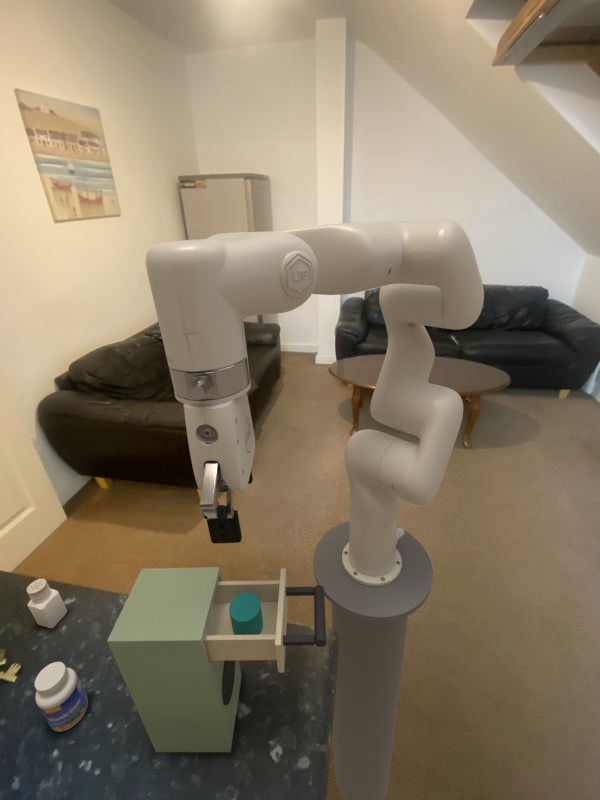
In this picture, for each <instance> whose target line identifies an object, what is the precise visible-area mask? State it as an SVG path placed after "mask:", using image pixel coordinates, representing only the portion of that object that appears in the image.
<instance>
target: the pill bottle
mask: <svg viewBox="0 0 600 800" xmlns="http://www.w3.org/2000/svg"><path fill="white" fill-rule="evenodd" d="M34 688H35V690H36V692H35V695H34V697H35V699H34V700H35V703H36V705H37V707H38V708H39V711H40V712H41V713H42V715H43V717H44V718H45V720H46V722H47V723H48V725H49V727H50V728H51V729H52V730H53V731H54V732H65V731H68V730H70V729H72V728H73V727H74V726H76V725H77V724H78V723H79V722H81V720H82V718H83V717H84V715H85V714H86V711H87V709H88V705H89V698H88V695H87V692H86V690H85V688H84V686H83V683H81V680H80V679H79V676H78V674H77V673H76V671H75V670H74V669H73V668H72V667H67V666H66V664H65V663H64V662H62V661H54V662H51V663H49V664H47V665H45V667H43V668H42V669H41V670H40V672H39V673H38V674H37V676H36V677H35V680H34Z"/></svg>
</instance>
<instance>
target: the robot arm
mask: <svg viewBox="0 0 600 800" xmlns="http://www.w3.org/2000/svg"><path fill="white" fill-rule="evenodd" d="M145 267H146V273H147V278H148V282H149V287H150V291H151V296H152V299H153V300H152V301H153V304H154V308H155V309H154V310H155V312H156V316H157V322H158V325H159V330H160V331H159V332H160V334H161V339H162V343H163V347H164V353H165V357H166V361H167V366H168V372H169V376H170V379H171V384H172V389H173V392H174V398H175V399H176V400H177V401H178V402H180V403H181V404H183V413H184V422H185V429H186V436H187V444H188V450H189V455H190V461H191V466H192V471H193V475H194V479H195V483H196V486H197V488H198V490H199V491H200V500H199V510H200V511H201V513H202V516H203V518H204V520H206V523H207V528H208V534H209V538H210V542H211V543H212V544H213V545H214V544H215V545H216V544H217V545H218V544H238V543H241V542H242V538H243V536H242V535H243V534H242V528H241V522H240V517H239V512H238V509H237V510H236V509H235V493H236V492H239V493H242V492H243V491H245V489H246V488H247V487H248V485H250V484H252V483H253V480H254V478H253V477H254V476H253V470H252V468H253V462H254V457H255V452H256V435H255V431H254V425H253V419H252V413H251V407H250V403H249V397H248V392H249V391H250V390H251V387H252V381H251V374H250V365H249V358H248V349H247V340H246V333H245V324H244V319H245V318H246V317H247V318H248V317H252V316H253V317H254V316H261V315H278V314H285V313H288V312H291V311H294V310H296V309H297V308H299V307H301V306H303V305H304V304H305V303H306V302H307V301H308V300H309V299H310V298H311V296H312V295H320V296H321V295H322V296H342V295H343V296H344V295H353V294H356V293H360V292H364V291H368V290H373V289H376V288H379V295H378V302H379V307H380V310H381V314H382V317H383V320H384V323H385V328H386V333H387V348H386V353H385V356H384V360H383V363H382V366H381V369H380V372H379V375H378V377H377V381H376V383H375V387H374V390H373V393H372V396H371V400H370V404H369V413H370V415H371V417H372V418H373V419H374V420H375V421H376V422H378V423H380V424H382V425H384V426H387V427H389V428H392V429H395V430H397V431H400V432H404V433H406V434H409V435H412V436H415V437H417V438H418V439H419V443H418V444H415V443H413V442H411V441H407V440H404V439H402V438H400V437H397V436H394V435H392V434H388V433H386V432H383V431H380V430H375V429H369V428H367V429H360V430H357V431H356V432H354V433H353V434H352V435H351V436H350V438H349V439H348V441H347V442H346V445H345V450H344V465H345V470H346V474H347V478H348V485H349V486H348V487H349V521H350V524H349V542H348V544H347V545H346V546H345V548H344V549H343V553H342V564H343V567H344V569H345V571H346V572H347V574H348V575H349V576H350V577H351V578H352V579H354V580H355V581H357V582H359V583H361V584H363V585H367V586H374V587H378V586H384V585H387V584H390V583H391V582H393V581H394V580H395V579H397V577H398V576H399V574H400V572H401V567H402V559H401V556H400V553H399V551H398V550H397V549H396V544H397V543H398V540H399V539H400V538H401V537H402V536H403V535H404V534H405V532H404V530H405V529H404V528H402V527H400V526H398V524H399V523H398V522H399V512H400V511H399V510H400V499H402V500H404V501H407V502H409V503H412V504H415V505H418V506H419V505H420V506H423V505H427V504H429V503H430V502H431V501H432V500H434V498H435V497H436V495H437V493H438V492H439V489H440V487H441V484H442V481H443V479H444V476H445V473H446V470H447V467H448V464H449V462H450V459H451V456H452V453H453V449H454V447H455V444H456V441H457V439H458V434H459V432H460V429H461V425H462V422H463V418H464V401H463V398H462V397H461V395H460V394H459V393H458V392H457V391H455V390H454V389H452V388H450V387H446V386H444V385H440V384H435V383H432V382H429V378H430V375H431V372H432V368H433V365H434V363H435V360H436V351H435V347H434V344H433V342H432V341H433V340H432V339H431V337H430V334H429V332H428V331H427V329H426V327H433V328H441V329H446V330H457V331H458V330H464V329H468V328H469V327H472V325H474V323H476V321H477V320H478V319H479V317H480V315H481V314H482V310H483V308H484V303H485V290H484V283H483V281H482V276H481V273H480V269H479V265H478V261H477V259H476V255H475V252H474V249H473V246H472V242H471V241H470V238H469V236H468V234H467V233H466V231H465V230H464V228H463V227H462V226H461V225H460V224H459V223H458V222H456V221H455V220H452V219H448V218H443V219H442V218H441V219H439V218H438V219H420V220H419V219H418V220H417V219H416V220H395V221H394V220H393V221H370V222H369V221H368V222H367V221H365V222H341V223H340V222H339V223H329V224H322V225H314V226H309V227H304V228H303V227H302V228H294V229H284V230H271V231H270V230H269V231H240V232H239V231H238V232H237V231H236V232H235V231H234V232H224V233H223V232H221V233H216V234H213V235H211V236H208V237H207V238H203V239H182V240H173V241H172V240H171V241H164V242H160V243H156V244H153V245H152V246H151V247H150V248H149V249H148V250H147V252H146V255H145ZM220 480H223V481H224V483H225V484H226V485H220ZM219 493H226V505H224V504H220V502H219V497H218V495H219ZM397 526H398V527H399V528H397ZM403 529H404V530H403Z"/></svg>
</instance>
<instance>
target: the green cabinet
mask: <svg viewBox="0 0 600 800" xmlns="http://www.w3.org/2000/svg"><path fill="white" fill-rule="evenodd" d="M221 571H222V570H221V568H220V566H202V567H199V566H198V567H151V568H150V567H147V568H146V567H145V568H141V569H140V572H139V573H138V576H137V578H136V580H135V582H134V584H133V585H132V588H131V590H130V593H129V595H128V596H127V599H126V601H125V603H124V605H123V607H122V609H121V611H120V612H119V615H118V617H117V619H116V621H115V624H114V626H113V627H112V630H111V632H110V634H109V636H108V638H107V640H106V643H107V644H108V647H109V649H110V651H111V654H112V655H113V658H114V660H115V663H116V666H117V667H118V669H119V672H120V674H121V676H122V679H123V681H124V683H125V686H126V688H127V690H128V692H129V695H130V697H131V699H132V701H133V703H134V706H135V708H136V711H137V713H138V714H139V717H140V719H141V721H142V724H143V726H144V728H145V731H146V733H147V735H148V737H149V740H150V742H151V744H152V746H153V748H154V751H155V753H231V752H232V745H233V738H234V731H235V724H236V719H237V713H238V704H239V703H238V702H239V698H240V690H241V683H242V671H241V665H240V660H224V661H209V660H208V656H207V652H206V648H205V644H204V641H203V640H204V637H205V633H206V629H207V625H208V621H209V617H210V613H211V609H212V605H213V601H214V597H215V593H216V589H217V585H218V581H223V576H222V572H221Z"/></svg>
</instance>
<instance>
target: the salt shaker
mask: <svg viewBox="0 0 600 800" xmlns="http://www.w3.org/2000/svg"><path fill="white" fill-rule="evenodd" d="M26 593H27V595H28V597H29V599H30V600H29V601H28V603H27V607H28V609H29V611H30V613H31V614H32V616H33V619H34V620H35V622H36V624H37V625H38V626H41V627H45V628H47V629H55V627H56V626H57V625H58V624H59V622H61V621H62V619H64V617H65V616H66V615H67V613H68V609H67V607H66V605H65V603H64V599H63V598H62V597H61V594H60V592H59V591H58V590H56V589H53V588H50V585H49V583H48V581H47V580H46V579H45V578H38V579H35V580H34V581H32V582H30V583H29V584H28V586H27V587H26Z"/></svg>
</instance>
